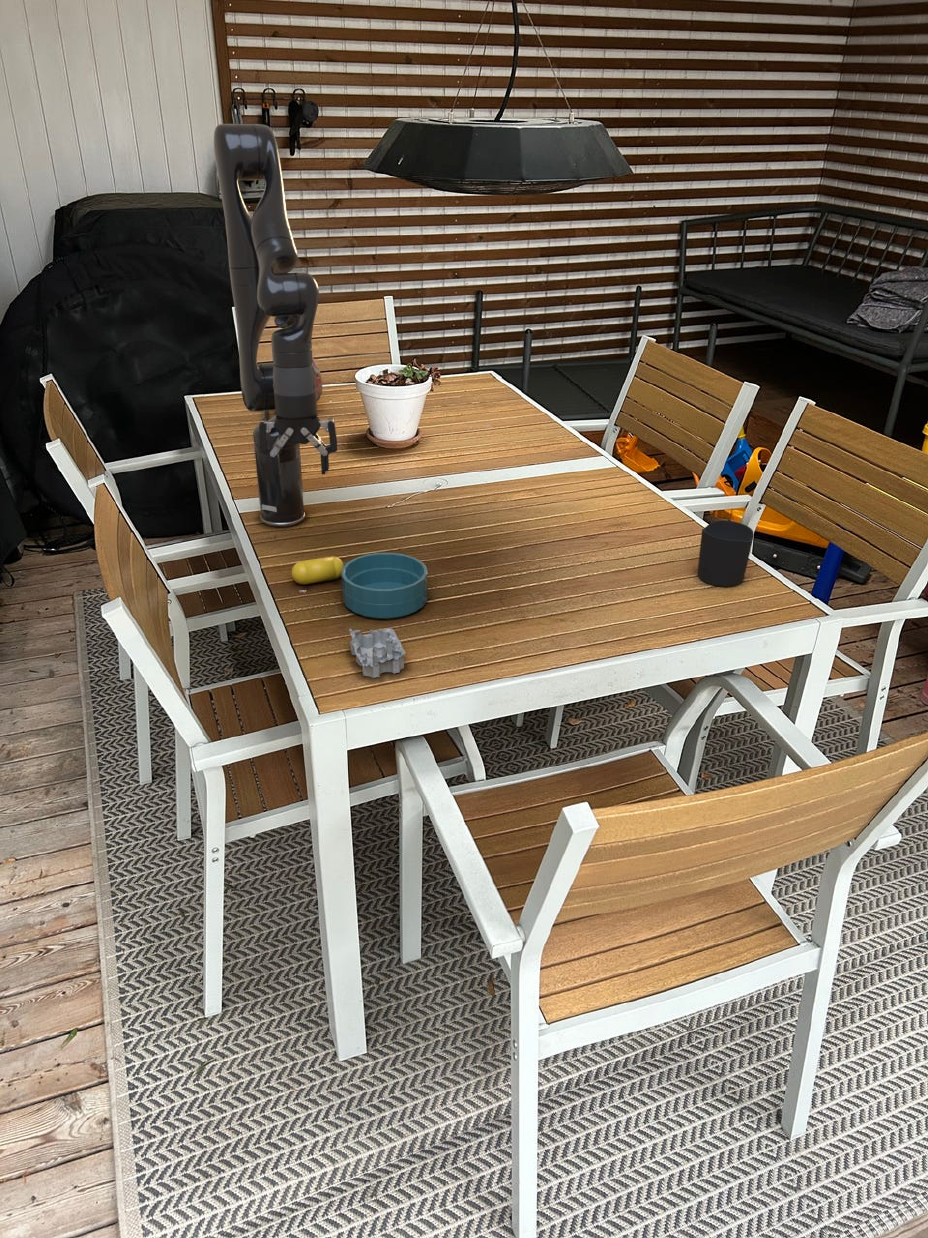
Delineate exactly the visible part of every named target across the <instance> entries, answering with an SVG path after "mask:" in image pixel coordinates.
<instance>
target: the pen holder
mask: <svg viewBox="0 0 928 1238" xmlns="http://www.w3.org/2000/svg"><path fill="white" fill-rule="evenodd" d="M754 536H755V535H754V531H753V529H752V528H751V527H750V526H748V525H746V524H744V523H742V522H738V521H733V520H724V519H721V520H720V519H719V520H714V521H712V522H711V523H709V524H707V525H706V526H705V527H704V528H702V529H701V537H700V546H699V555H698V556H699V557H698V565H697V576H698V578H699V579H700V580H701V581H702V582H704V583H705V584H708V585H710V586H714V587H719V588H733V587H736V586H739V585H740V584H741V583H742V582H743V581H744V578H745V575H746V571H747V566H748V563H749V558H750V554H751V549H752V545H753V541H754Z"/></svg>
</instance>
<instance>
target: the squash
mask: <svg viewBox="0 0 928 1238" xmlns="http://www.w3.org/2000/svg"><path fill="white" fill-rule="evenodd" d="M348 562H349V561H342V559H341V558H340V557H338V556H335V555H334V556H333V555H332V556H324V557H319V558H313V559H306V560H301V561H298V562H296V563H295V564H294V565H293V566H292V568H291V576H292V579H293V580H294V582H295V583H297V584H298V585H303V586H304V585H311V584H317V583H323V582H327V581H335V580H337V579H340V578H342V576H341V574H342V568H343V567H344V566H345V565H346V563H348Z"/></svg>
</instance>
